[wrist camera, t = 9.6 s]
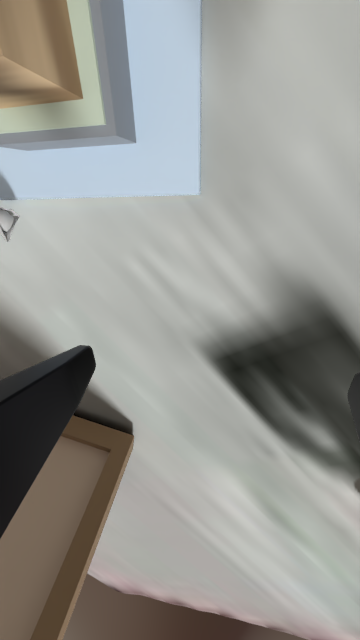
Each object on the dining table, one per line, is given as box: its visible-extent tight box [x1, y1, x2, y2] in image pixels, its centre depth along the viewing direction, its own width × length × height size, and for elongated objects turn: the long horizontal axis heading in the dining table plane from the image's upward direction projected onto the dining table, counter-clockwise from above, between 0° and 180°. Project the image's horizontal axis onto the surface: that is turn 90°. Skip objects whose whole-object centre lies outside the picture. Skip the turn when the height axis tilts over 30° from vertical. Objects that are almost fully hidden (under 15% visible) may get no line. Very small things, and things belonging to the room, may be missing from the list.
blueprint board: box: [0, 0, 202, 200], centre depth 15 cm, size 16×14×1 cm
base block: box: [0, 0, 136, 151], centre depth 13 cm, size 8×8×3 cm
